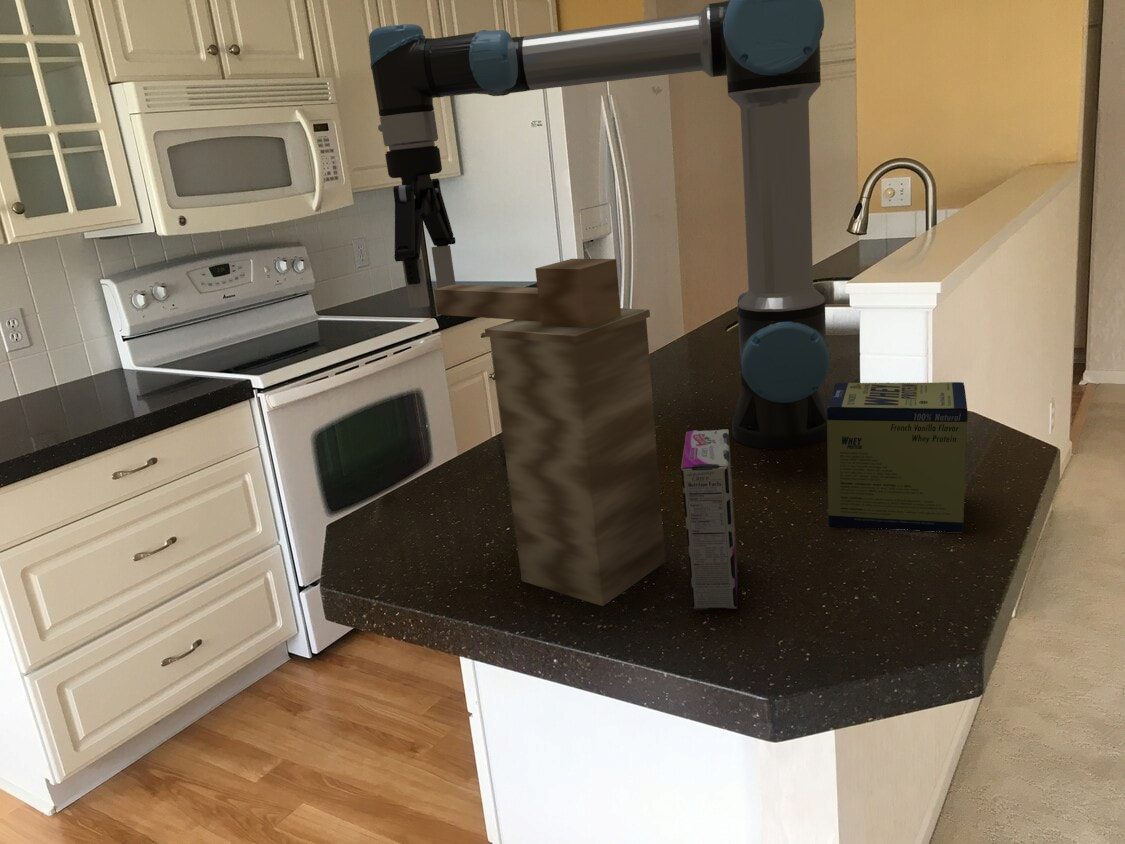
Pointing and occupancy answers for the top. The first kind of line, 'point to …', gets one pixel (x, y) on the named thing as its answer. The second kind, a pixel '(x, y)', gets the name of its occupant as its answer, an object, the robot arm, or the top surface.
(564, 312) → the mallet
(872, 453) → the protein box
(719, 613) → the top surface
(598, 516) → the block
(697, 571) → the candy bar box
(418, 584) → the top surface
